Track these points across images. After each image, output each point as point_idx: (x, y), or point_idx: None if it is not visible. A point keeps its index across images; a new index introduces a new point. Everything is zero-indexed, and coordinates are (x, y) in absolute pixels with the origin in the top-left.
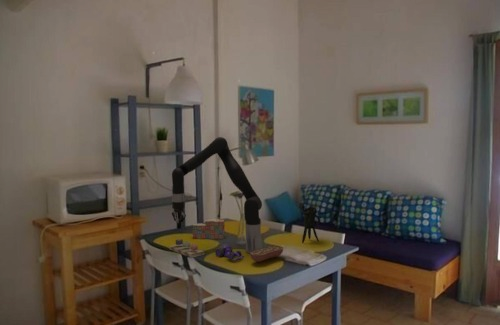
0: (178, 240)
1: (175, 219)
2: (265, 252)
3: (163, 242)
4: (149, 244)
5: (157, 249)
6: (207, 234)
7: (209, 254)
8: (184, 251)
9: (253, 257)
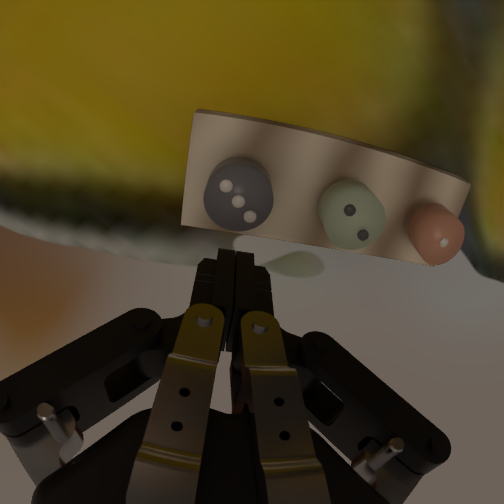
0: (252, 221)
1: (155, 378)
2: None
3: (14, 133)
4: (9, 216)
5: (123, 253)
6: None
7: (479, 157)
8: (367, 249)
9: None
